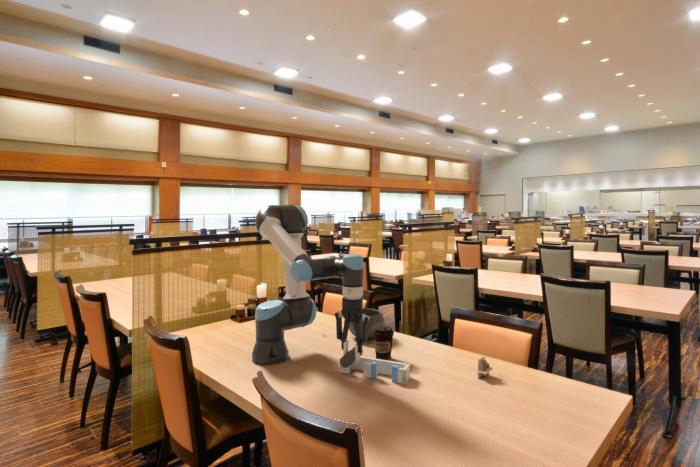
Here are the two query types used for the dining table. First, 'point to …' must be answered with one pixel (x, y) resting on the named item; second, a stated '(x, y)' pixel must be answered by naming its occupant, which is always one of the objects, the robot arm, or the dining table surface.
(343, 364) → the dark gray cylinder
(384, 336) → the coffee cup
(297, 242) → the robot arm
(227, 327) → the dining table surface
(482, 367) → the architectural model
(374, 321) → the bowl
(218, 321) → the dining table surface
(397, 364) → the white u-shaped bracket
